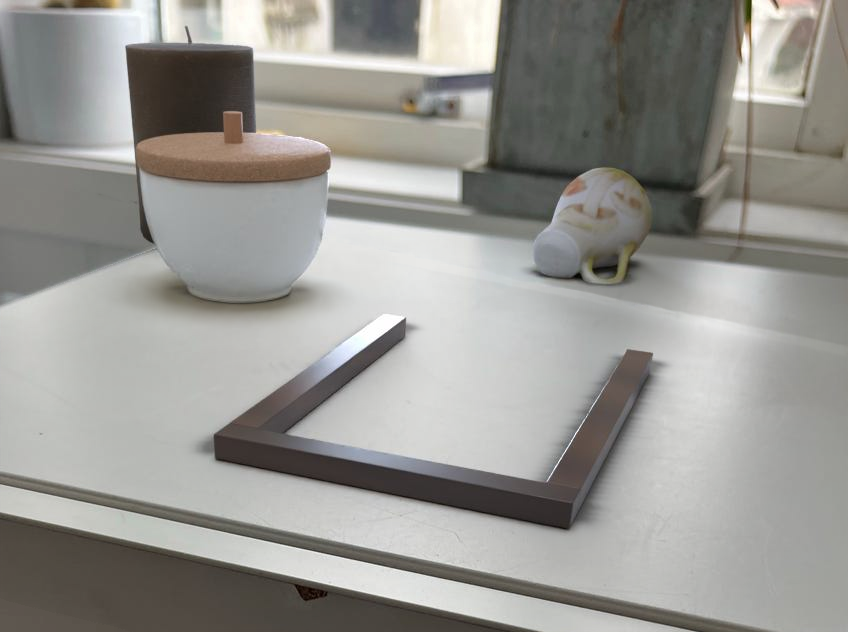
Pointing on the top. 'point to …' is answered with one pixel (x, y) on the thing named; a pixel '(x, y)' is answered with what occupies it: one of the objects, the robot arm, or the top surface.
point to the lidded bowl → (235, 208)
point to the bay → (468, 488)
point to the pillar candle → (187, 91)
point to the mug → (594, 227)
